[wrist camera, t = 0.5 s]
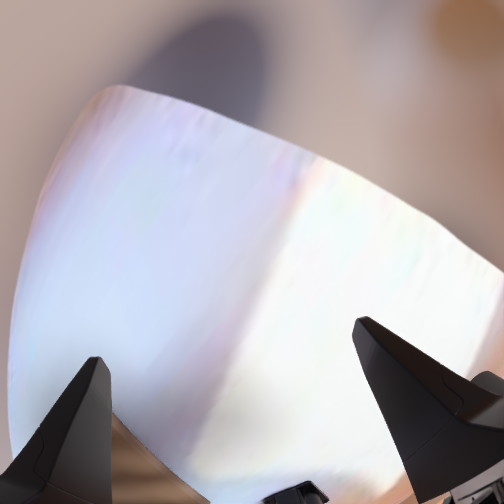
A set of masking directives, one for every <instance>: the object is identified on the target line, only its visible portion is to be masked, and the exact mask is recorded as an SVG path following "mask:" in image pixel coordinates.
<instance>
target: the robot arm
mask: <svg viewBox="0 0 504 504" xmlns="http://www.w3.org/2000/svg"><path fill="white" fill-rule="evenodd" d="M352 339H353V342H354V345H355V348H356V351H357V354H358V357H359V360H360V363H361V366H362V369H363V372H364V374H365V377H366V379H367V381H368V383H369V386H370V388H371V390H372V392H373V394H374V397H375V399H376V401H377V403H378V406H379V408H380V410H381V412H382V415H383V417H384V419H385V422H386V424H387V426H388V428H389V431H390V433H391V436H392V438H393V440H394V443H395V445H396V447H397V450H398V452H399V455H400V457H401V460H402V462H403V465H404V467H405V470H406V472H407V475H408V478H409V480H410V483H411V485H412V488H413V490H414V493H415V495H416V498H417V501H418V503H419V504H422V503H424V502H426V501H428V500H431V499H433V498H435V497H437V496H440V495H442V494H444V493H446V492H448V491H450V494H451V495H450V496H448V497H447V498H445V499H444V501H443V504H504V396H503V395H497V394H494V393H492V392H490V391H488V390H486V389H484V388H482V387H480V386H478V385H476V384H474V383H472V382H470V381H469V380H467V379H465V378H463V377H461V376H459V375H458V374H456V373H455V372H453V371H451V370H450V369H448V368H447V367H445V366H444V365H442V364H441V365H440V363H439V362H437V361H436V360H434V359H433V358H431V357H430V356H428V355H427V354H425V353H424V352H422V351H421V350H419V349H418V348H416V347H414V346H413V345H411V344H410V343H408V342H407V341H405V340H404V339H402V338H401V337H399V336H398V335H396V334H394V333H393V332H391V331H390V330H388V329H387V328H385V327H384V326H382V325H381V324H379V323H378V322H376V321H374V320H373V319H371V318H370V317H368V316H364V317H360V318H357V319H356V321H355V325H354V329H353V332H352ZM111 431H112V399H111V374H110V371H109V369H108V367H107V366H106V364H105V363H104V361H103V359H102V358H101V357H99V356H96V357H90V358H88V360H87V361H86V362H85V364H84V365H83V366H82V367H81V369H80V370H79V371H78V373H77V374H76V375H75V377H74V378H73V379H72V381H71V382H70V383H69V385H68V386H67V388H66V389H65V390H64V392H63V393H62V394H61V396H60V397H59V399H58V400H57V401H56V403H55V404H54V406H53V407H52V408H51V410H50V411H49V413H48V414H47V416H46V417H45V418H44V420H43V421H42V423H41V424H40V427H38V429H37V430H36V431H35V433H34V434H33V436H32V437H31V439H30V440H29V442H28V443H27V444H26V446H25V447H24V448H23V449H22V451H21V452H20V453H19V454H18V456H17V457H16V458H15V459H14V461H13V462H12V463H11V464H10V466H9V467H8V468H7V469H6V471H5V472H4V473H3V474H1V475H0V504H113V503H112V483H111ZM328 501H329V498H328V497H327V496H326V495H325V494H324V493H323V492H322V491H321V490H320V489H319V488H318V487H317V486H316V485H315V484H314V483H313V482H311V481H307V482H305V483H302V484H300V485H298V486H296V487H293V488H291V489H288V490H286V491H284V492H281V493H278V494H276V495H273V496H271V497H268V498H265V499H264V503H265V504H324V503H327V502H328Z"/></svg>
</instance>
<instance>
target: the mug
mask: <svg viewBox="0 0 504 504" xmlns="http://www.w3.org/2000/svg"><path fill="white" fill-rule="evenodd" d="M470 382H472V383H474V384H476V385H478V386H480V387H482V388H484V389H486V390H488V391H490V392H492V393H494V394H497V395H503V396H504V380H503V379H502V378H500V377H498V376H497V375H495V374H493V373H492V372H489V371H485V372H482V373H480V374H478V375H477V376H476V377H474V378H473V379H472V380H471V381H470Z"/></svg>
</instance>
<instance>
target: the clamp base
mask: <svg viewBox="0 0 504 504" xmlns="http://www.w3.org/2000/svg"><path fill="white" fill-rule="evenodd" d="M111 483H112V503H113V504H210V501H208V500H207V499H206V498H204V497H203V496H202V495H200V494H199V493H198V492H196V491H195V490H194V489H193V488H191V487H190V486H189V485H187V484H186V483H185V482H184V481H183V480H181V479H180V478H179V477H178V476H177V475H175V474H174V473H173V472H172V471H171V470H170V469H168V468H167V467H166V466H165V465H164V464H163V463H162V462H161V461H160V460H158V459H157V458H156V457H155V456H154V455H153V454H152V453H151V452H150V451H149V450H148V449H147V448H146V447H145V446H144V445H143V444H142V443H141V442H140V441H139V440H138V439H137V438H136V437H135V436H134V435H133V434H132V433H131V432H130V431H129V430H128V429H127V428H126V427H125V426H124V425H123V424H122V422H121V421H120V420H119V419H118V418H117V417H116V416H115V415H114V413H113V412H112V431H111Z"/></svg>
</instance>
